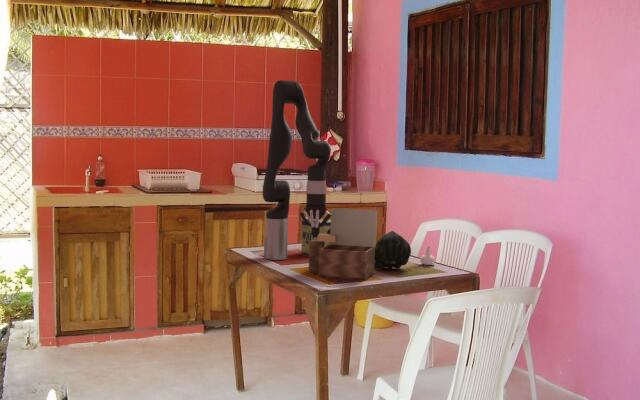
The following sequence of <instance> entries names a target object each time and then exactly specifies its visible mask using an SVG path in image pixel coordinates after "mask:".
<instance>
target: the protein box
mask: <svg viewBox="0 0 640 400" xmlns="http://www.w3.org/2000/svg"><path fill="white" fill-rule="evenodd" d="M309 220H310V219H309ZM323 220H324V218H321V222H322V221H323ZM310 221H311V220H310ZM321 222H320V223H321ZM328 229H331V218H330V219H329V220H328V221H327V222H326V224H325V225H324V226H321V227H320V233H319V234H327V232H328ZM311 232H312V228H311V226H308V225H307V224H306V223H305V221H304V220H301V254H303V255H306V256H309V241H311V240H318V237H313V236H312V234H311ZM327 245H328V242H325V246H327Z"/></svg>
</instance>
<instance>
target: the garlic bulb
mask: <svg viewBox="0 0 640 400" xmlns="http://www.w3.org/2000/svg"><path fill="white" fill-rule="evenodd" d="M419 262H420V264H422V265H426V266H432V265H433V266H434V264H435V263H436V259H435V257H434V255H432V254H431V245H427V247H426V251H425V253H424V254H422V255H421V257H420V258H419Z"/></svg>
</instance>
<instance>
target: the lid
mask: <svg viewBox="0 0 640 400" xmlns="http://www.w3.org/2000/svg"><path fill="white" fill-rule="evenodd" d="M330 213H331V214H332V216H331V217H330V220H331V229H330V234H338V241H337V242H330V244H334V245H350V246H366V247H376V243H377V230H378V229H377V228H378V210H377V209H360V208H359V209H358V208H355V209H354V208H339V207H338V208H337V207H332V208H331V212H330Z"/></svg>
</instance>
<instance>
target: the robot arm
mask: <svg viewBox="0 0 640 400" xmlns="http://www.w3.org/2000/svg"><path fill="white" fill-rule="evenodd" d="M307 102H308V101H307V99H306V96H305V92H304V89H303V87H302V85H301V83H299V82H298V81H296V80H281V79H279V80H277V81H276V82H275V83H274V85H273V89H272V109H271V110H272V111H271V112H272V114H271V126H270V134H269V141H268V152H267V162H266V163H267V164H266V168H265V174H264V179H263V184H262V198H263V201H264V202H265V203H277V205H276V206H275V207H274V208H271V209H269V210H268V211H267V212H266V213H265V215H266V216H265V223H266V224H265V235H264V236H263V237H264V238H263V240H264V241H263V259H267V260H272V261H280V260H281V261H282V260H287V259H288V245H289V244H288V242H289V239H288V237H289V236H288V233H289V232H288V231H289V230H288V229H289V214H290V213H289V212H290V200H291V187H290V183H289V182H288V181H287V180H279V179H278V180H277V179H276V178H277V175H278V174H277V173H278V172H279V170H280V168H281V167H282V165H283V164H284V163H285V161H286V160H287V158H288V157H289V155H290V154H291V151H292V141H293V135H292V131H291V129H290V126H289V124H288V122H287V120H286V117H285V104H286V105H287V104H289V105H290V104H291V105H292V104H293V105H294V106H295V108H296V110H297V111H296V112H297V114H296V116H295V120H294V121H295V128H296V130H297V132H298V134H299V136H300V138H301V143H302V144H301V145H302V152H303V155H304V156H305V157H306V158H307V159H310V160H316V159H317V160H316V162H315V164H311V165H309V166H308V167H307V181H306V182H307V183H306V205H305V206H306V207H305V208H304V210H303V211H301V212H300V213H299V215H300V217H301V219H302V221H305V223H306V224H307V225H308V226H311V228H312V232H311V234H312V236H313V237H318V234H319V233H320V227H321V226H324V225H325V224H326V222H327V221H328V220H329V219H330V220H331V216H332V214H331V212H329V211H328V208H327V183H326V182H327V181H326V180H327V179H326V178H327V176H326V174H327V173H326V172H327V167H328V163H329V160H330V156H331V154H332V152H331V151H332V150H331V149H332V148H331V146H330V145H331V144H330V143H329V142H328V141H327V140H317V139H318V138H319V130H318V129H317V126H316V124H315V122H314V120H313V118H312V116H311V114H310V111H309V107H308V103H307ZM323 217H324V218H323ZM321 219H324V220H323V221H322V222H321ZM310 220H311V221H310ZM320 222H321V223H320Z"/></svg>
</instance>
